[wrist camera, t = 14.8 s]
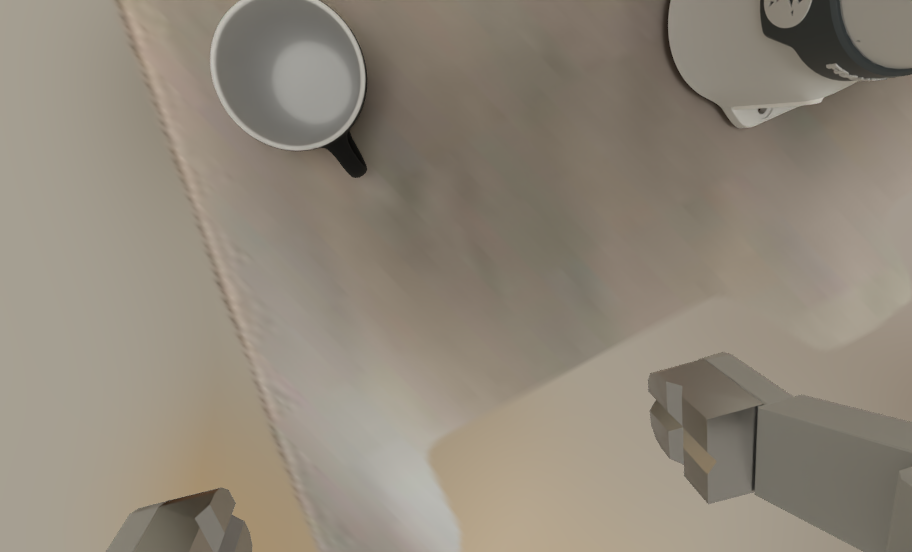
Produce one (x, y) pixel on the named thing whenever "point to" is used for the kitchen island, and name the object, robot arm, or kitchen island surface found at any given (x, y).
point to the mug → (291, 76)
